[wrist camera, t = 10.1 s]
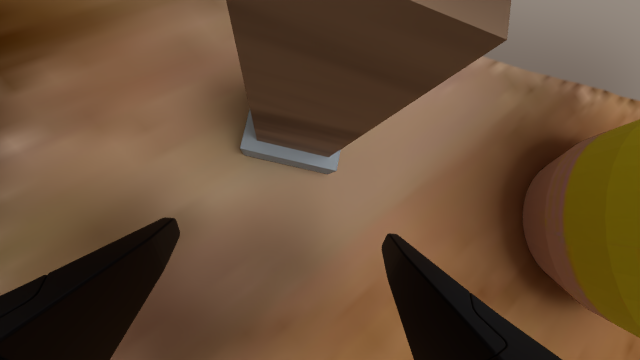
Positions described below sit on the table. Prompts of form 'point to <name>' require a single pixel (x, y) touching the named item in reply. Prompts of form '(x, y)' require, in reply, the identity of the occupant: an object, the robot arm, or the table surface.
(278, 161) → the plinth
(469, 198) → the table surface
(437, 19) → the post
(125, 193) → the table surface
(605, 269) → the vase
